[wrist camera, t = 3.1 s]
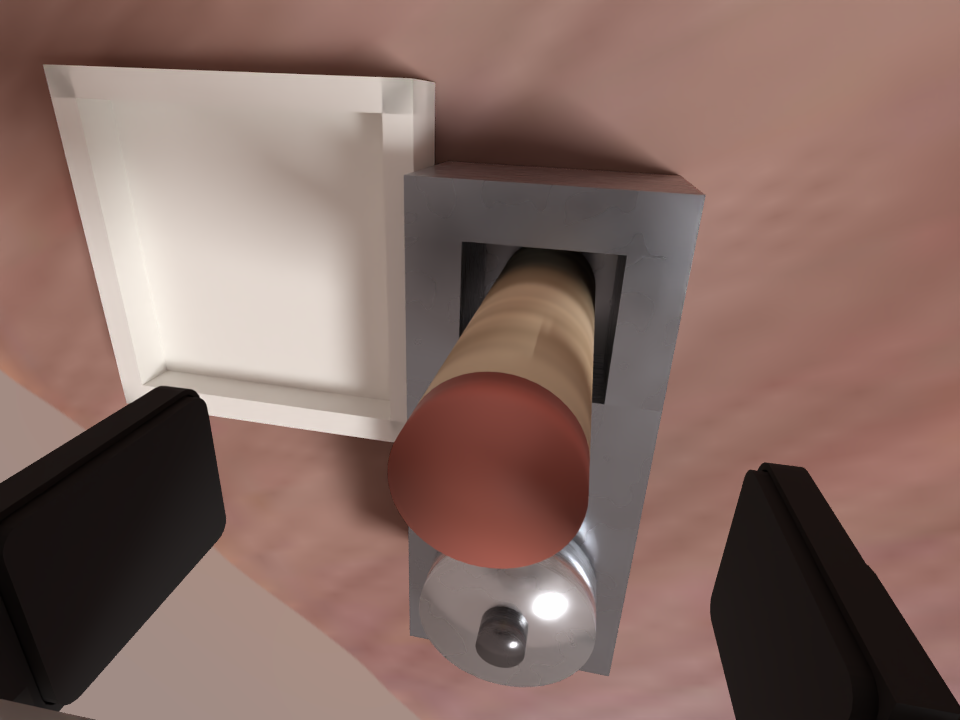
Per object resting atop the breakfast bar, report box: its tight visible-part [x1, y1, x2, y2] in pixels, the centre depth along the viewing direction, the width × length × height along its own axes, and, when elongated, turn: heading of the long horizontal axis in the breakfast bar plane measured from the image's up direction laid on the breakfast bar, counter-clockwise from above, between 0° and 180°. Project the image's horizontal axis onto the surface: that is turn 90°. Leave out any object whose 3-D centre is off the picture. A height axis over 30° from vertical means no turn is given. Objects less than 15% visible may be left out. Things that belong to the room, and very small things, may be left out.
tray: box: [43, 64, 435, 442], centre depth 22 cm, size 13×13×2 cm
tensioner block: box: [404, 161, 705, 687], centre depth 19 cm, size 18×8×8 cm, turn 177°
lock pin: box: [387, 247, 596, 569], centre depth 15 cm, size 3×3×12 cm
